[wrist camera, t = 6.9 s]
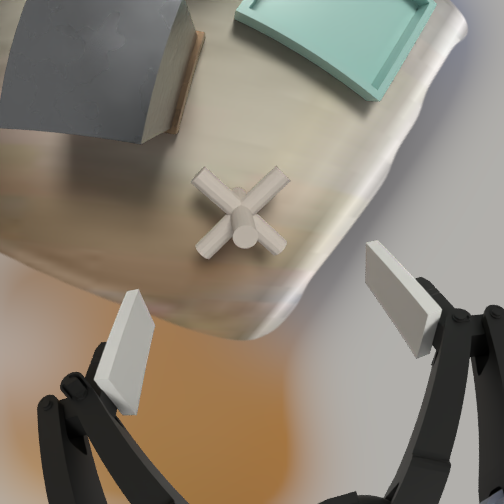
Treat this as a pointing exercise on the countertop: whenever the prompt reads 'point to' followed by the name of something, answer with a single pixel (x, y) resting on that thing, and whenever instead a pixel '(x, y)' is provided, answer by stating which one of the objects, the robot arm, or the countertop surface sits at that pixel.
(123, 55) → the mounted unit
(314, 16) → the tray
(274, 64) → the countertop surface
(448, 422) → the robot arm
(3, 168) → the countertop surface
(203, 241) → the pipe connector
